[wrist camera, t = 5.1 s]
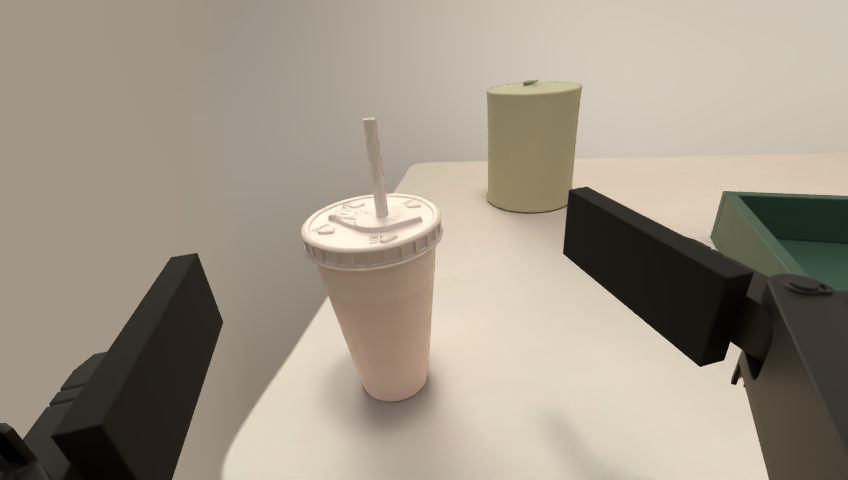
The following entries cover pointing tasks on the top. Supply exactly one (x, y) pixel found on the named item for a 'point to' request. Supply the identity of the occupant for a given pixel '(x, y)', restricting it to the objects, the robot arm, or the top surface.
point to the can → (531, 144)
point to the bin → (786, 234)
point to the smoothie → (380, 278)
